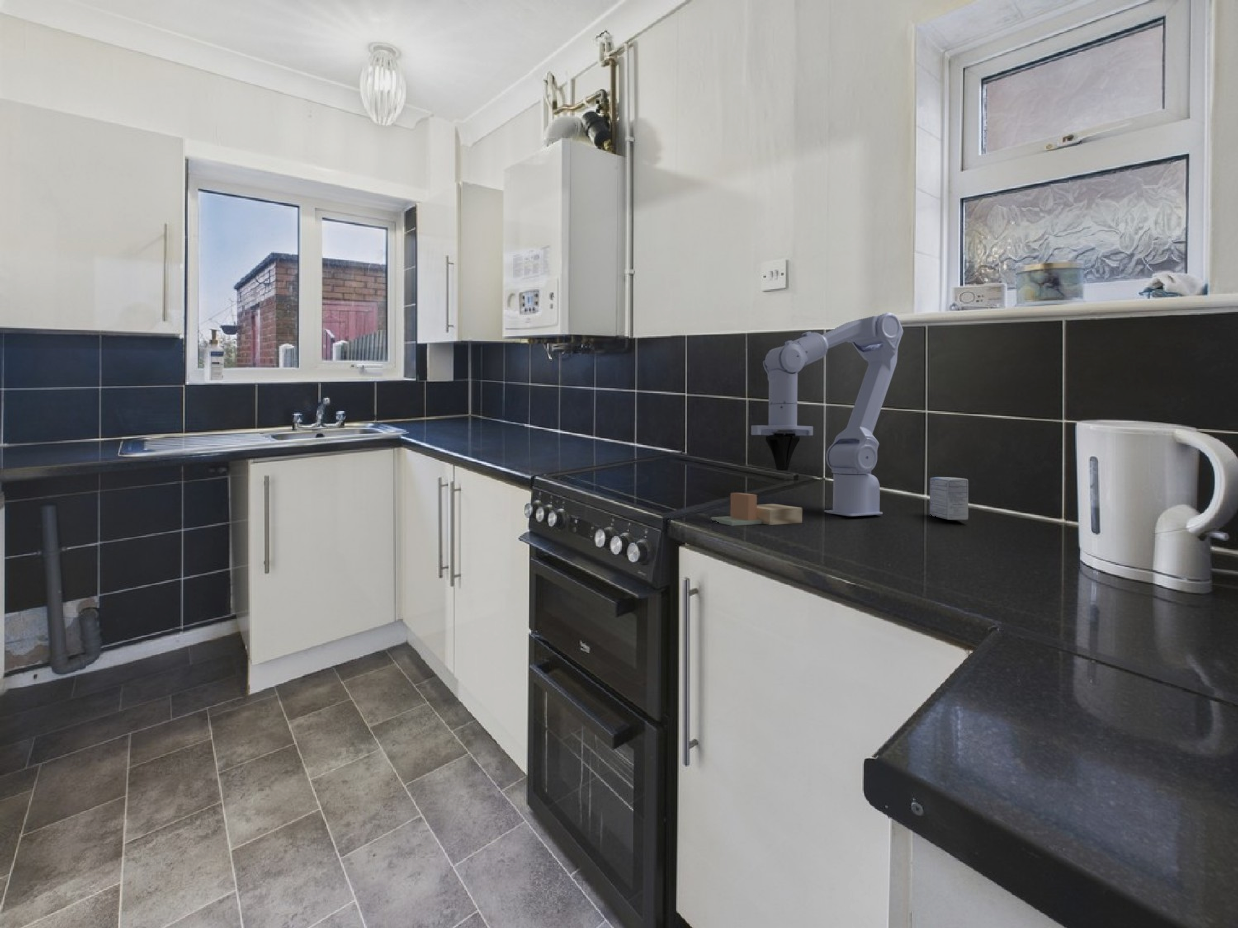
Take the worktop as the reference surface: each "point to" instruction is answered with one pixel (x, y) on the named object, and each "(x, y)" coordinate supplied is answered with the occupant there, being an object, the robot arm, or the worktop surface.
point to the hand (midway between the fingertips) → (782, 470)
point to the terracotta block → (743, 506)
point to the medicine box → (949, 498)
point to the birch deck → (778, 514)
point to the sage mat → (735, 521)
